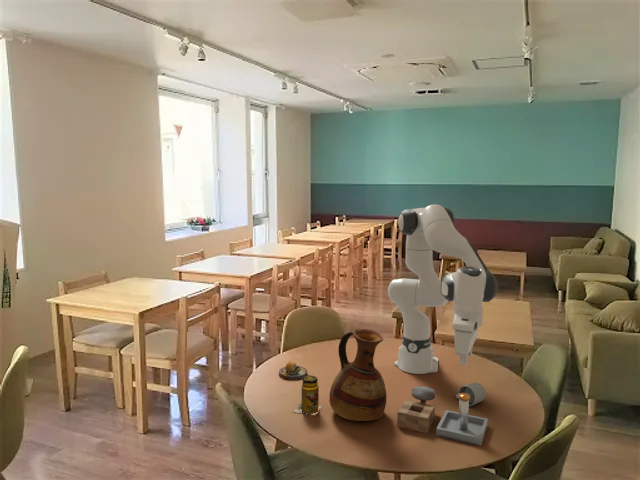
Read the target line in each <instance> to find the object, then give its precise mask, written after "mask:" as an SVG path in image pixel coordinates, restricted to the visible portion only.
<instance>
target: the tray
mask: <svg viewBox="0 0 640 480" xmlns="http://www.w3.org/2000/svg"><path fill="white" fill-rule="evenodd" d="M458 419H459V412H456V411H452V410H447V409H446V410H444V413H443V414H442V416H441V419H440V421H439V423H438V424H437V427H436V431H435V434H436V437H437V436H438V437H443V438H446V439H451V440H456V441H458V442H461V443H462V442H463V443H467V444H471V445H476V446H480V447H482V444H483V443H484V442H483V441H484V439H485V435H486V433H487V430H488V426H489V424H488V423H489V419H488V418H485V417H481V416H477V415H476V416H475V415H471V414H468V430H466V431H462V430H459V429H458Z"/></svg>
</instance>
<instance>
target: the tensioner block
mask: <svg viewBox="0 0 640 480" xmlns="http://www.w3.org/2000/svg"><path fill="white" fill-rule="evenodd" d="M411 396H412V398H414V399H415V400H418V401H419V402H417V401H413V400H408V399H406V400H405V401H404V402H403V404H402V405H401V407H400V408H399V409H398V411H397V417H396V419H397V421H396V424H397V425H396V426H397V427H400V428H403V429H408V430H410V431H412V430H413V431H416V432H421V433H425V434H427V433H428V432H429V431H430V428H431V426H432V425H433V423H434V421H435V410H436V409H435V405H433V404H432V405H431V404H428V403H427V401H433V400H434V399H435V398H436V391H435V389H433V388H431V387H429V386H423V385H422V386H421V385H420V386H415V387H413V388H412V389H411Z"/></svg>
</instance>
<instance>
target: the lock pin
mask: <svg viewBox="0 0 640 480" xmlns="http://www.w3.org/2000/svg"><path fill="white" fill-rule="evenodd" d="M458 399H459V401H458V403H459V404H458V413H459V419H458V429H459V430H462V431H466V430H468V415H469V407H470V406H469V400H470V395H469V394H467V393H459V398H458Z"/></svg>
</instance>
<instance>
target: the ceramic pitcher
mask: <svg viewBox="0 0 640 480" xmlns="http://www.w3.org/2000/svg"><path fill="white" fill-rule="evenodd" d="M351 336H352V337H354V339H355V341H356V343H357V344H356V345H357V351H356V355H355V358H354V360H353V361H352V362H350V361H349V360H348V354H347V343H348V341H349V339H350V337H351ZM383 341H384V338H383V336H382V335H381V334H380V333H379V332H377V331H375V330H372V329H368V328H367V329H366V328H363V329H362V328H358V329H357V328H356V329H355V330H352V331H349V332H345V334H344V335H343V336H342V337H341V339H340V341H339V344H338V348H337V349H338V356H339V361H340V367H341V368H340V370H339V371H338V373H337V375H336V376H335V378H334V380H333V382H332V383H331V386H330V390H329V396H328V397H329V400H328V401H329V405H330V407H331V408H332V410H333V412H334V413H335V414H336V415H338V416H340V417H342V418H344V419H347V420H349V421H358V422H359V421H361V422H362V421H363V422H365V421H367V422H368V421H374V420H378V419H380V418H382V416H383V414H384V413H385V409H386V406H387V398H388V397H387V389H386V384H385V381H384V378H383V376H382V374H381V372H380V370H378V369H377V368H376V367H375V365H374V358H375V352H376V348H377V347H378V345H379V344H380V343H382V342H383Z"/></svg>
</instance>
